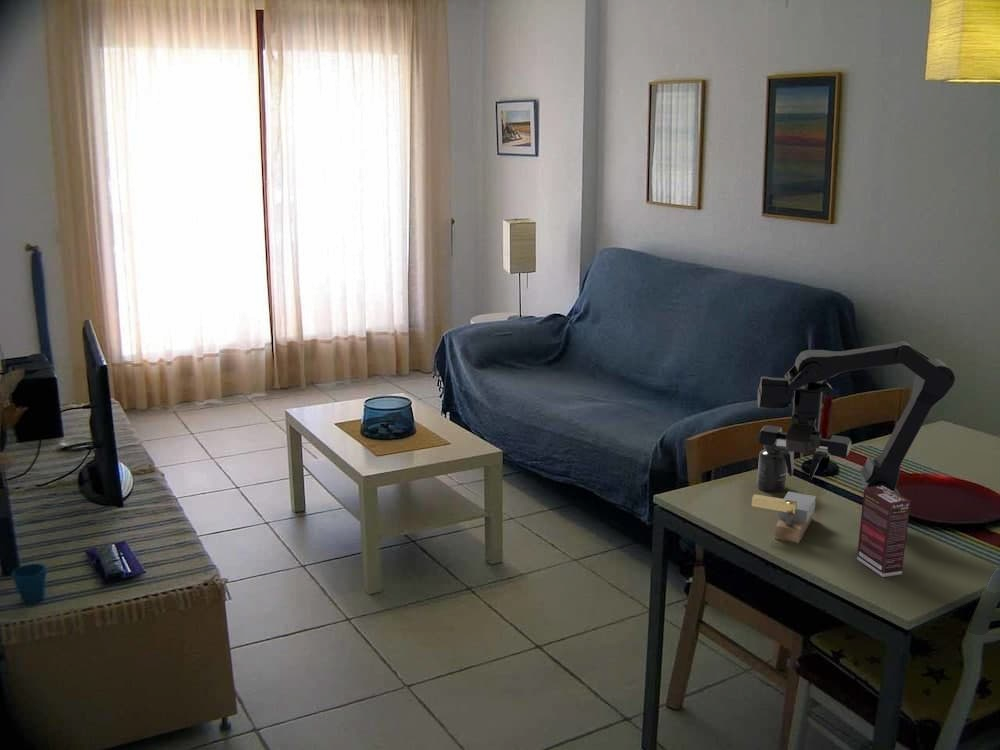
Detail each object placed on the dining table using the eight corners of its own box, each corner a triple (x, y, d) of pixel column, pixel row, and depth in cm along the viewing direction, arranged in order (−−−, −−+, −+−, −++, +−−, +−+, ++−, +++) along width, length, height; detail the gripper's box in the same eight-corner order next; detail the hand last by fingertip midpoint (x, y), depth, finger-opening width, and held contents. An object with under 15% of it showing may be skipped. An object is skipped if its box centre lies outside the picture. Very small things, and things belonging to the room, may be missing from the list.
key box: (812, 519, 216) (814, 493, 214) (798, 543, 204) (801, 516, 202) (789, 514, 218) (791, 489, 216) (774, 538, 206) (776, 511, 205)
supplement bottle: (786, 494, 229) (790, 447, 226) (757, 492, 231) (760, 445, 227) (784, 483, 236) (788, 437, 233) (755, 481, 237) (759, 435, 234)
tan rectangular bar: (753, 502, 209) (754, 493, 208) (797, 509, 205) (798, 501, 205) (751, 506, 207) (752, 497, 206) (795, 514, 203) (796, 505, 203)
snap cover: (814, 508, 214) (815, 496, 213) (806, 524, 206) (807, 511, 205) (787, 503, 217) (788, 491, 216) (777, 518, 209) (778, 505, 208)
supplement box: (903, 574, 190) (912, 500, 186) (882, 578, 189) (891, 503, 185) (875, 555, 198) (883, 484, 194) (855, 558, 197) (862, 487, 193)
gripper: (753, 413, 204) (748, 482, 208) (845, 427, 195) (838, 498, 199) (766, 399, 213) (761, 465, 217) (854, 412, 205) (847, 480, 209)
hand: (800, 477), depth 211 cm, fingers open, 4 cm apart
